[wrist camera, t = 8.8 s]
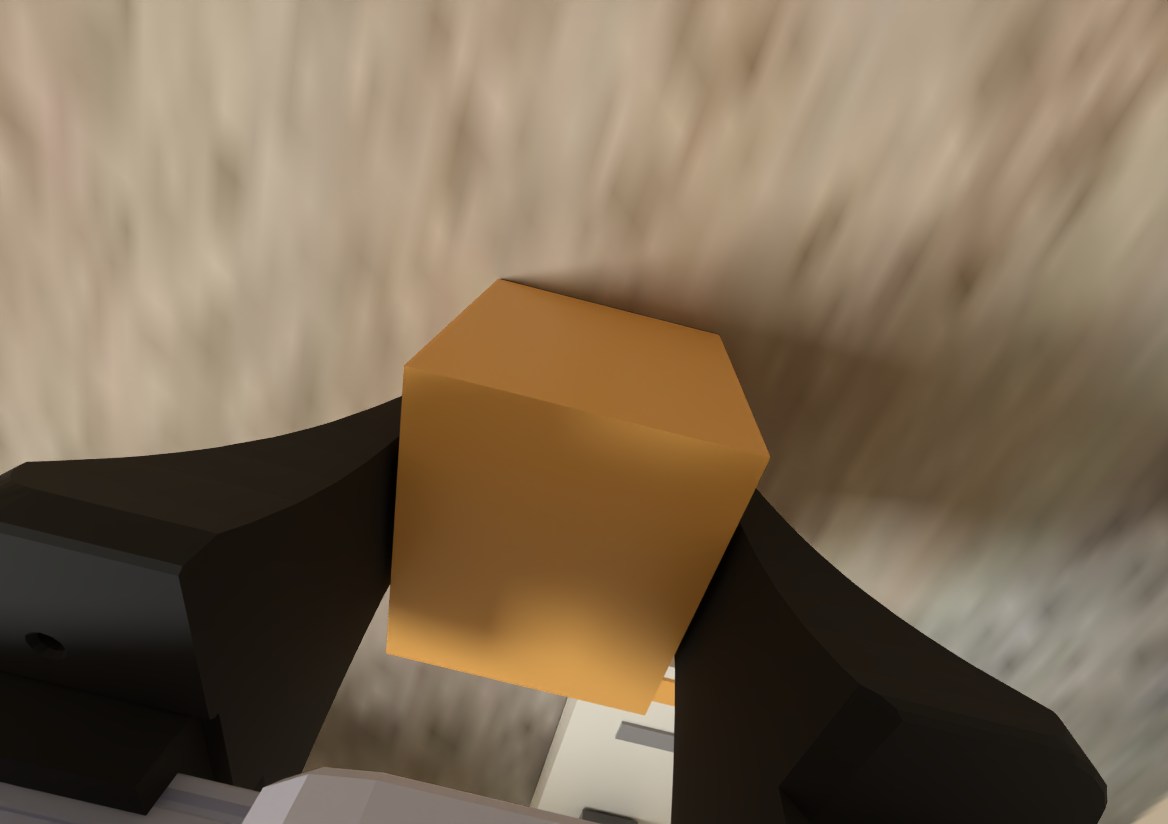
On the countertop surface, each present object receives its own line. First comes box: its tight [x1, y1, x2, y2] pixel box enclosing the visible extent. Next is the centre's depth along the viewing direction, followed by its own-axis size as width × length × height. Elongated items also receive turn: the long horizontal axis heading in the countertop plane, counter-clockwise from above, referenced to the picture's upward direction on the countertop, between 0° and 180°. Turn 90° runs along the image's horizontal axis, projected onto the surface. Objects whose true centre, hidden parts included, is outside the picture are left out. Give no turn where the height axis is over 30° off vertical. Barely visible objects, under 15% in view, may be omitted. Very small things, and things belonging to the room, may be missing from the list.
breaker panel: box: [530, 657, 675, 824], centre depth 18 cm, size 11×13×2 cm
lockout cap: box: [386, 279, 771, 715], centre depth 10 cm, size 5×6×5 cm
